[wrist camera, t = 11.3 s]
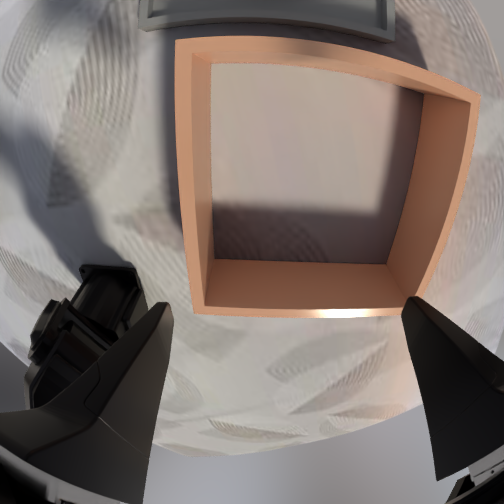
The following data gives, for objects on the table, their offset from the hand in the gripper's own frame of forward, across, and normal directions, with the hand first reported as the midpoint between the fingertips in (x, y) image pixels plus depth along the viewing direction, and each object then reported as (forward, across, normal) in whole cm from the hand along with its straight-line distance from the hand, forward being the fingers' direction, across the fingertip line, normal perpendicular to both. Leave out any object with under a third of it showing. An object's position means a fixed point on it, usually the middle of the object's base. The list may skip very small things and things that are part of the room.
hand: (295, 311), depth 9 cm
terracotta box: (+12, -3, -1) cm, 12 cm away
